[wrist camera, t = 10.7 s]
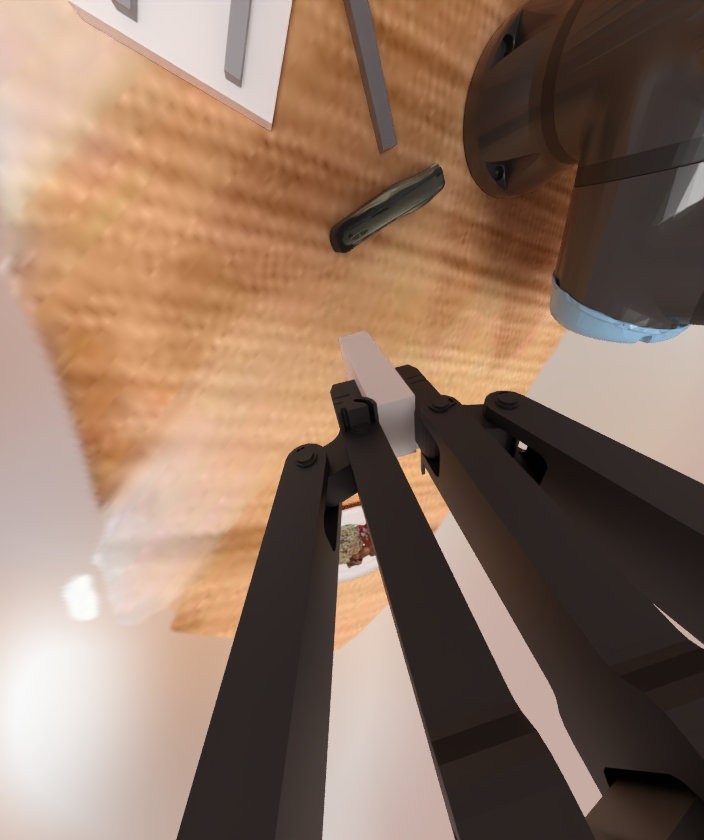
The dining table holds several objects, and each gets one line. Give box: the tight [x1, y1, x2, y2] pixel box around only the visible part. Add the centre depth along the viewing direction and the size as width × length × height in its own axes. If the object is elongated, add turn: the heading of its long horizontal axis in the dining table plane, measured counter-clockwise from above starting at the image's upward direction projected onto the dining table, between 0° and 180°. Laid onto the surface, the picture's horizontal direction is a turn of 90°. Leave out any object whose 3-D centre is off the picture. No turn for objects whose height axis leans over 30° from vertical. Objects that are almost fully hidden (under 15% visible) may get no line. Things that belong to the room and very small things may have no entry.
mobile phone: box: [330, 163, 445, 253], centre depth 30 cm, size 5×3×15 cm
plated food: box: [338, 505, 379, 583], centre depth 66 cm, size 30×30×3 cm
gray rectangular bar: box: [343, 0, 397, 154], centre depth 25 cm, size 12×2×2 cm, turn 22°
